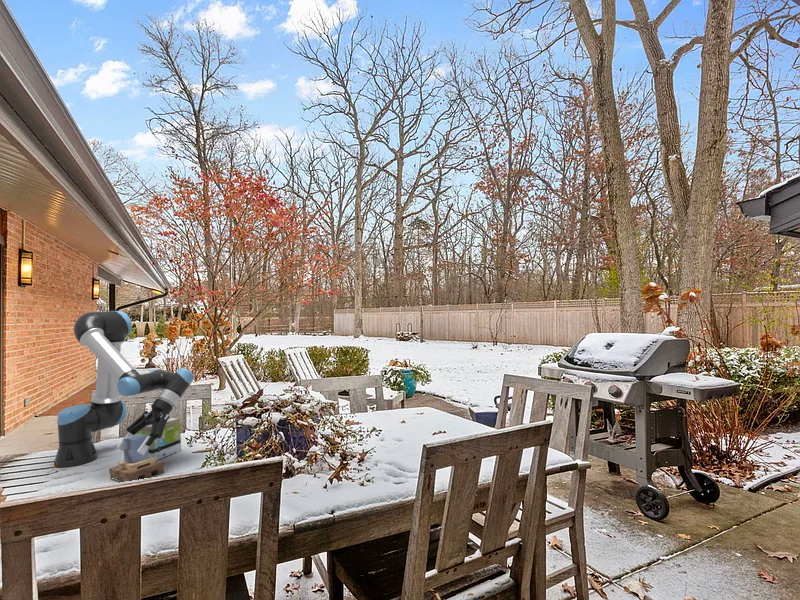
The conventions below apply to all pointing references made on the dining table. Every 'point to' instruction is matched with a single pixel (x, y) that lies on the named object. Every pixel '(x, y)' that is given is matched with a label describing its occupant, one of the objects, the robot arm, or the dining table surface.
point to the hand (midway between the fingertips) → (129, 451)
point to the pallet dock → (137, 472)
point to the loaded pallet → (134, 453)
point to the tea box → (164, 439)
